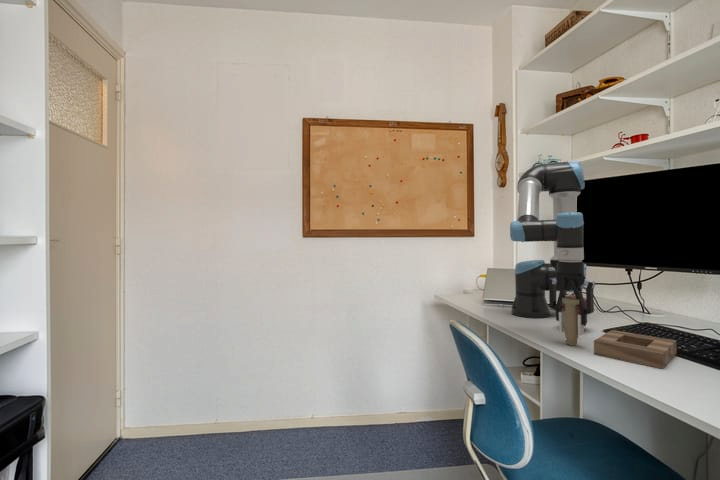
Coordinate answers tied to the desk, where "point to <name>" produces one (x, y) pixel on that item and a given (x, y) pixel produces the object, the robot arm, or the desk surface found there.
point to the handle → (571, 319)
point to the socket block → (636, 348)
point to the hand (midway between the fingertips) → (571, 332)
